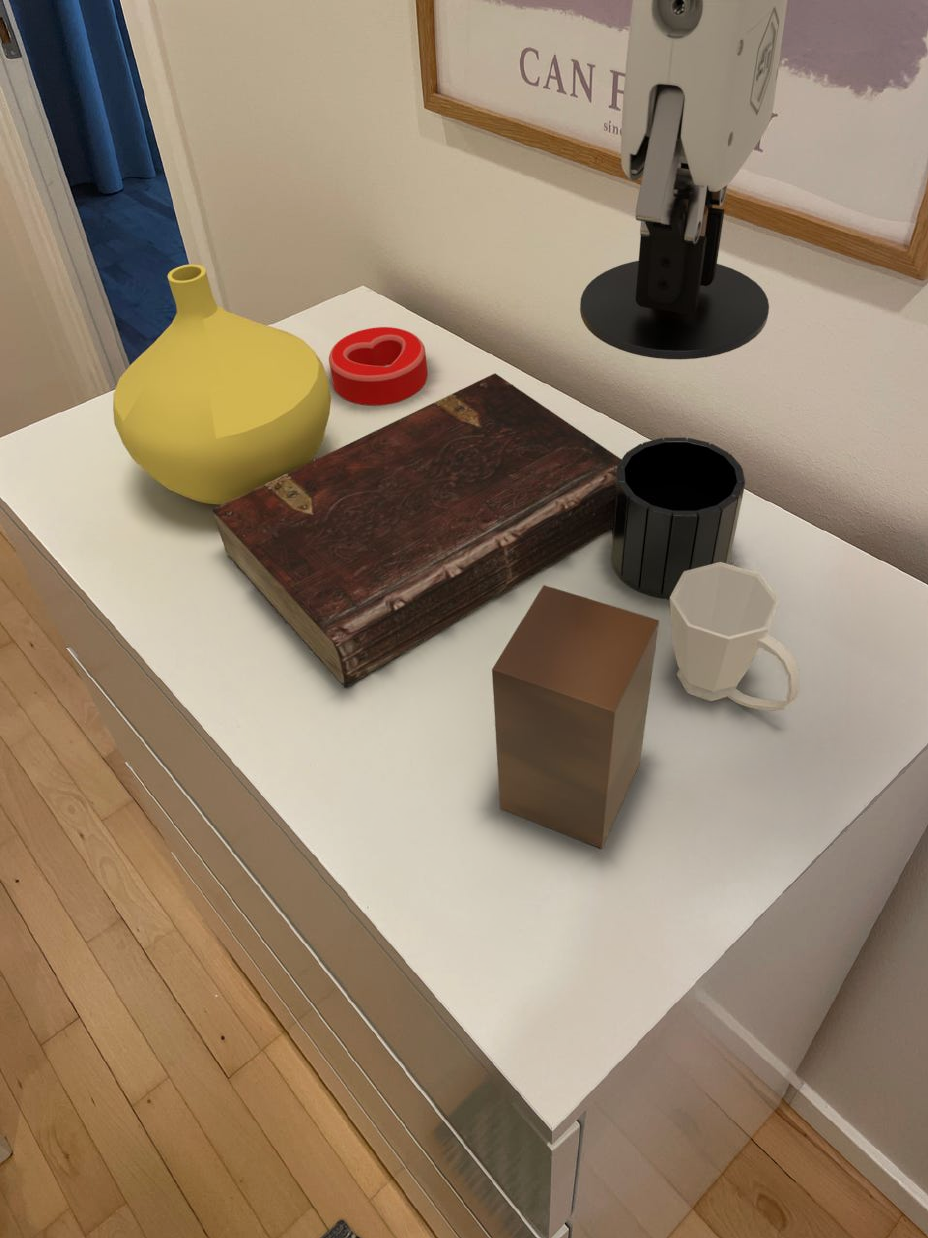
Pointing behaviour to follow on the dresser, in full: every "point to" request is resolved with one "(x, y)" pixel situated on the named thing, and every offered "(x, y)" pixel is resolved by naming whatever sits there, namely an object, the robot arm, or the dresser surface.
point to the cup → (725, 633)
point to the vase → (220, 399)
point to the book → (420, 522)
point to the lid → (675, 314)
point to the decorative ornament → (378, 366)
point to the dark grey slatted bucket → (673, 512)
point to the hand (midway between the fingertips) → (675, 290)
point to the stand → (572, 712)
